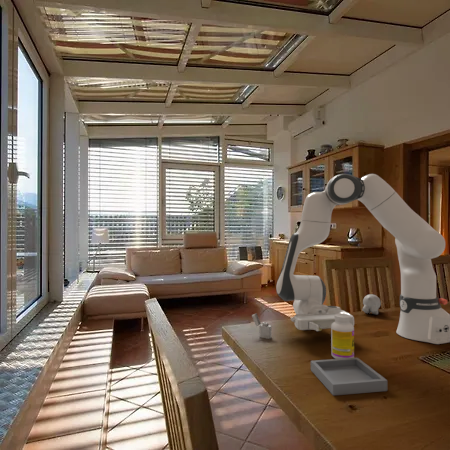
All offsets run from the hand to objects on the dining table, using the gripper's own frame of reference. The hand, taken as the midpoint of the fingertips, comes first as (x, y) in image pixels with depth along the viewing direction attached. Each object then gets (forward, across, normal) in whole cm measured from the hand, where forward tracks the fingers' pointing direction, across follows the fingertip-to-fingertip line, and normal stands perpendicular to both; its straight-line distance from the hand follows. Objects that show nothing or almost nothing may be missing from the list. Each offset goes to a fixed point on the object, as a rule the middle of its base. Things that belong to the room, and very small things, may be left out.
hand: (333, 328), depth 110 cm
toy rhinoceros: (-38, +36, +7) cm, 53 cm away
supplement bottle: (+6, 0, +7) cm, 10 cm away
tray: (+20, -6, +7) cm, 22 cm away
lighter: (-16, -20, +7) cm, 27 cm away
